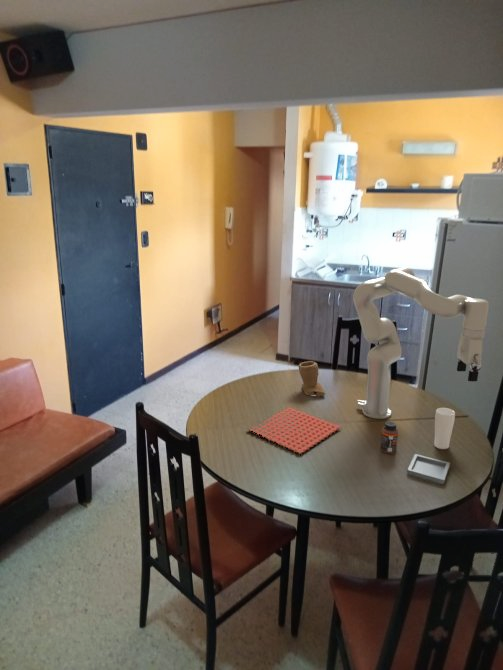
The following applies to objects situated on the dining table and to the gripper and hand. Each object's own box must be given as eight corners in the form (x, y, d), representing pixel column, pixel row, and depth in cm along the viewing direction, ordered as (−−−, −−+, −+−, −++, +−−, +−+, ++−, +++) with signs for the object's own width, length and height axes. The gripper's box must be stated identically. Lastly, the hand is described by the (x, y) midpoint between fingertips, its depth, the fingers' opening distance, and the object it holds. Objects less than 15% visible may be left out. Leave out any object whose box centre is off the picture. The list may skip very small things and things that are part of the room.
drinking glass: (442, 452, 175) (446, 416, 171) (428, 444, 181) (432, 409, 176) (454, 448, 178) (459, 412, 174) (440, 440, 184) (444, 405, 179)
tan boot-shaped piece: (296, 386, 237) (297, 358, 233) (319, 385, 238) (320, 357, 233) (301, 398, 223) (302, 369, 218) (325, 397, 223) (326, 368, 219)
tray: (407, 474, 161) (407, 469, 161) (414, 458, 171) (415, 453, 171) (443, 485, 155) (444, 480, 155) (449, 467, 165) (449, 462, 165)
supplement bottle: (393, 456, 173) (396, 428, 170) (378, 451, 176) (380, 424, 173) (398, 448, 178) (400, 422, 175) (382, 444, 181) (385, 418, 178)
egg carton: (341, 430, 193) (341, 426, 192) (300, 458, 174) (300, 453, 173) (288, 410, 211) (288, 406, 211) (246, 433, 192) (246, 429, 191)
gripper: (453, 325, 178) (447, 367, 183) (473, 339, 161) (466, 385, 166) (472, 326, 177) (466, 367, 183) (494, 339, 161) (487, 385, 166)
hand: (466, 375), depth 174 cm, fingers open, 9 cm apart
